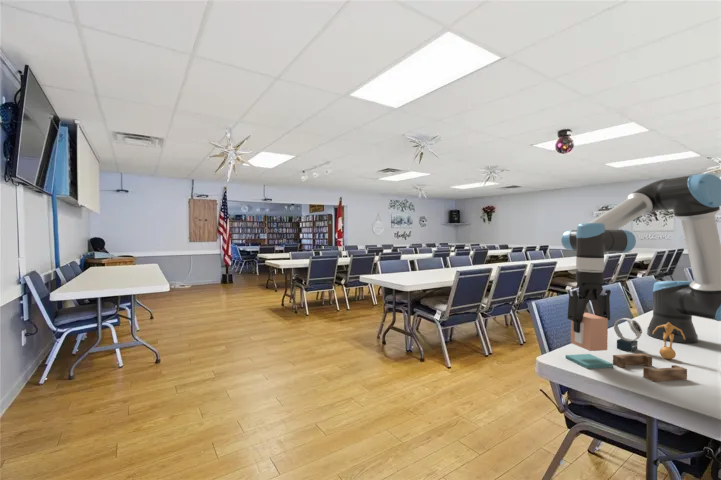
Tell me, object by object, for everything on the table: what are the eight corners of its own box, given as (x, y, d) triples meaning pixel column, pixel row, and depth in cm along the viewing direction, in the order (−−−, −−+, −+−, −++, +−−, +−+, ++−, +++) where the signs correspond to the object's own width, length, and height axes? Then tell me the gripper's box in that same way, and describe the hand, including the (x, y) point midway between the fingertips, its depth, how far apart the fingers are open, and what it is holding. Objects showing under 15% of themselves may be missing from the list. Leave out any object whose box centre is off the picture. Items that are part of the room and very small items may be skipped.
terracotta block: (586, 342, 114) (587, 312, 114) (607, 350, 106) (607, 318, 106) (570, 342, 113) (571, 313, 113) (590, 350, 105) (590, 318, 105)
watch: (637, 353, 118) (638, 322, 118) (611, 347, 125) (611, 317, 125) (644, 350, 121) (644, 320, 121) (617, 344, 128) (618, 315, 128)
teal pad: (589, 356, 115) (589, 353, 115) (612, 367, 106) (612, 363, 106) (565, 358, 113) (565, 355, 113) (587, 368, 104) (587, 365, 104)
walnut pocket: (642, 362, 110) (642, 353, 110) (686, 379, 97) (687, 369, 97) (612, 364, 108) (613, 354, 108) (653, 381, 95) (653, 371, 95)
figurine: (650, 356, 115) (650, 321, 115) (653, 352, 119) (653, 318, 119) (683, 363, 109) (684, 326, 109) (685, 359, 113) (686, 323, 113)
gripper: (605, 269, 114) (604, 337, 115) (554, 269, 112) (553, 339, 112) (626, 271, 107) (624, 344, 107) (572, 272, 104) (570, 346, 104)
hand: (588, 342), depth 109 cm, fingers closed on terracotta block, 6 cm apart
